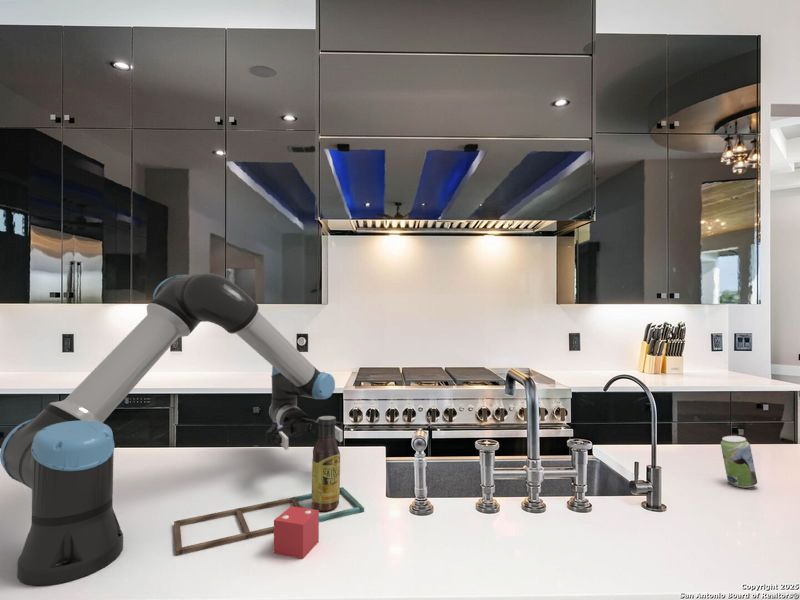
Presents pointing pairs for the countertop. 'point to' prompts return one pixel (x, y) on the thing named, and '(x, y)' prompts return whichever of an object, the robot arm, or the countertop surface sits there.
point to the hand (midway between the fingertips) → (314, 439)
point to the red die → (296, 532)
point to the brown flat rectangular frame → (243, 524)
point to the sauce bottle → (326, 467)
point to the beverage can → (738, 461)
